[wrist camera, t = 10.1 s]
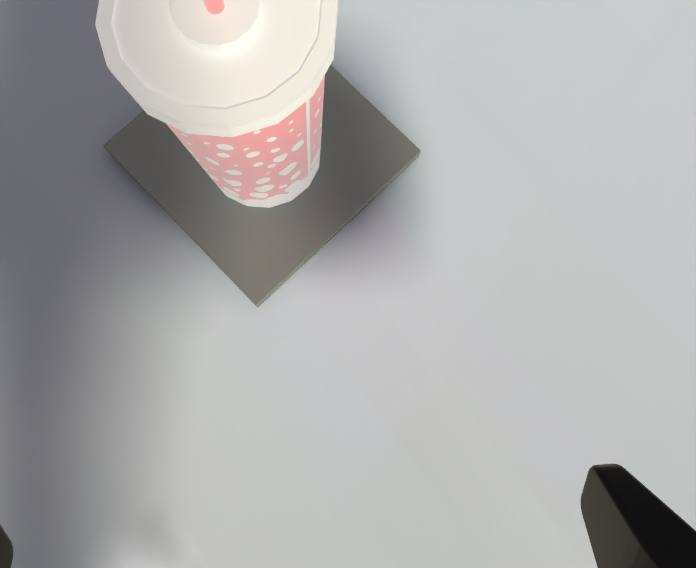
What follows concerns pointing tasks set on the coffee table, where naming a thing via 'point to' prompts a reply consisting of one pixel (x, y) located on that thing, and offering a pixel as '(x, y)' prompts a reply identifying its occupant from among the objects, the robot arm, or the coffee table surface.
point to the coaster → (278, 221)
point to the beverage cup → (230, 83)
